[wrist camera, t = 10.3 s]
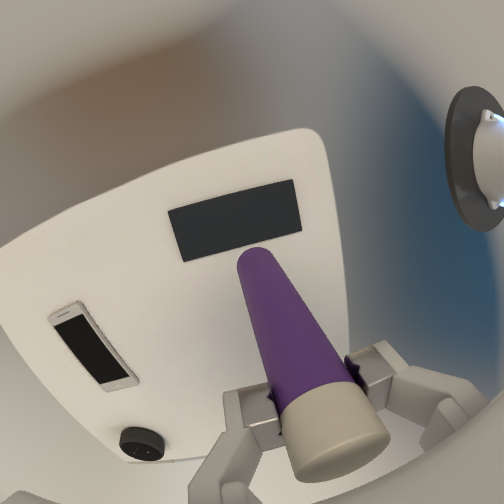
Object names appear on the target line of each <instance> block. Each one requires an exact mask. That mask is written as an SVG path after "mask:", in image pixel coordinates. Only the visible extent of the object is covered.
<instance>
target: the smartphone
mask: <svg viewBox="0 0 504 504" xmlns="http://www.w3.org/2000/svg"><path fill="white" fill-rule="evenodd" d="M48 321H49V322H50V324H51V325H52V327H53V328H54V330H55V331H56V333H57V334H58V335H59V337H60V338H61V339H62V341H63V342H64V344H65V345H66V346H67V347H68V349H69V350H70V351H71V353H72V354H73V355H74V356H75V358H76V359H77V360H78V361H79V363H80V364H81V365H82V366H83V367H84V369H85V370H86V371H87V372H88V373H89V374H90V376H91V377H92V378H93V379H94V380H95V381H96V382H97V383H98V385H99V386H100V387H101V388H102V389H103V390H104V391H105V392H112V391H116V390H120V389H124V388H128V387H132V386H136V385H138V383H139V380H138V378H137V377H136V376H135V375H134V374H133V373H132V371H131V370H130V369H129V368H128V367H127V365H126V364H125V363H124V362H123V360H122V359H121V358H120V357H119V355H118V354H117V353H116V351H115V350H114V349H113V348H112V346H111V345H110V344H109V342H108V341H107V340H106V338H105V337H104V335H103V334H102V333H101V331H100V330H99V328H98V327H97V326H96V324H95V323H94V321H93V320H92V318H91V317H90V315H89V314H88V312H87V311H86V309H85V308H84V306H83V305H82V303H81V302H80V301H77V302H75V303H73V304H71V305H69V306H67V307H65V308H63V309H61V310H59V311H56V312H54V313H52V314H50V315H49V316H48Z"/></svg>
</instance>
